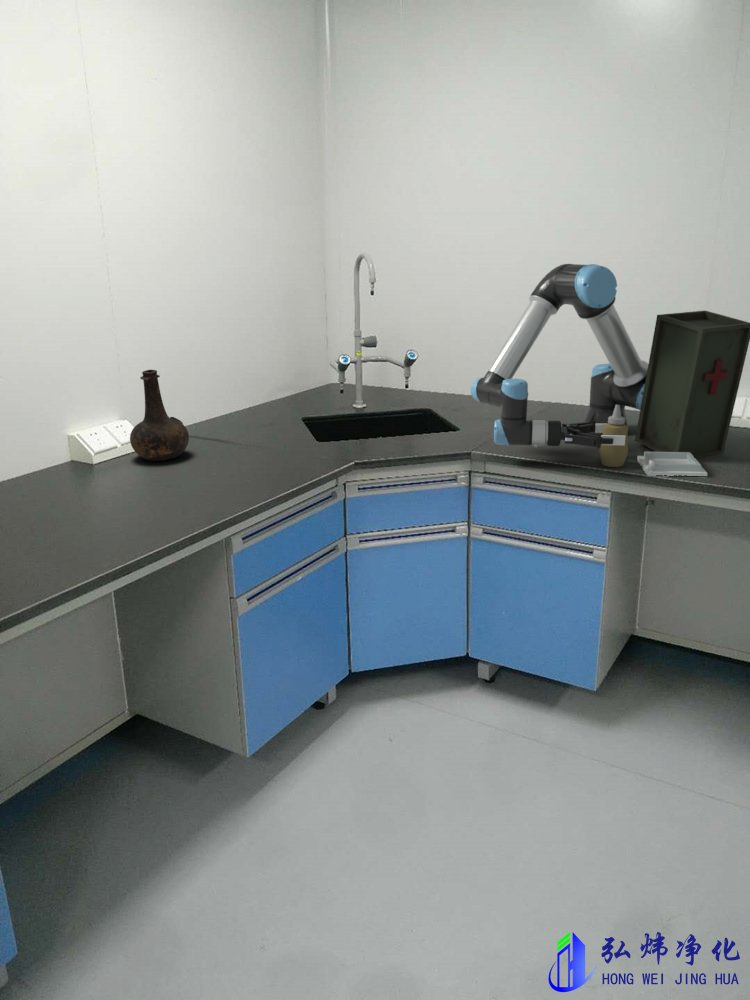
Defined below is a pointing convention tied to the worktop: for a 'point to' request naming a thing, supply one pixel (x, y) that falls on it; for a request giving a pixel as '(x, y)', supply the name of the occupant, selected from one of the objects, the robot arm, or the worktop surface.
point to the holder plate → (670, 464)
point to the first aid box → (692, 382)
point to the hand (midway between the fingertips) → (621, 434)
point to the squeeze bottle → (615, 453)
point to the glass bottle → (157, 426)
